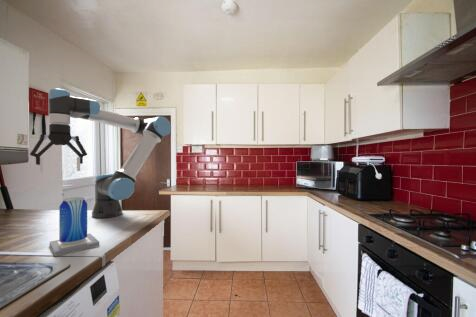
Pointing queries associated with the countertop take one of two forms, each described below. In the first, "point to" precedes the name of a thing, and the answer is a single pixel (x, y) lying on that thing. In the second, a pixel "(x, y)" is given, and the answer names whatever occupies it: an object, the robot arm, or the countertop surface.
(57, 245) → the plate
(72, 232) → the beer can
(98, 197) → the robot arm
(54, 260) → the countertop surface
